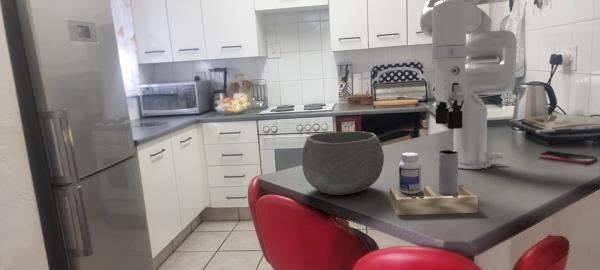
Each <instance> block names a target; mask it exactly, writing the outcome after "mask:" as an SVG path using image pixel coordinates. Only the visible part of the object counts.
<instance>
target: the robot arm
mask: <svg viewBox="0 0 600 270" xmlns="http://www.w3.org/2000/svg"><path fill="white" fill-rule="evenodd" d="M508 1H509V0H427V1H426V3H425V5H424V7H423V10H422V12H421V16H420V21H419V22H420V23H419V24H420V29H421V32H422V34H424V36H426V37H429V38H432V39H431V41H432V43H431V44H432V45H431V46H432V47H431V50H432V51H431V52H432V53H431V58H432V59H431V61H432V62H433V63H435V69H434V99H435V124H437V125H444V124H445V125H447V129H448V130H449V129H450V130H453V151H457V152H458V169H462V168H463V169H464V170H483V169H482V168H484V169H488V168H487V167H489V168H491V167H492V166H491V165H492V160H493V159H494V160H502V159H504V154H503V152H494V151H491V152H490V151H489V150H487V143H488V142H487V137H488V135H487V133H488V131H487V130H488V108H487V106H486V104H485V103H484V102H483V100H482V99H481V98H480V97H479V96H483V95H484V96H485V95H487V96H488V95H507V94H509V93H511V92H512V90H513V88H514V86H515V83H516V82H515V81H516V66H517V52H518V50H517V49H518V45H517V38H516V35H515V33H514V32H513V31H511V30H508V29H505V30H504V29H502V30H492V19H491V16H489V15H488V13H486V11H485V10H483V9H481V8H480V7H479V5H486V4H487V5H488V4H494V3H495V4H497V3H503V2H508ZM490 166H491V167H490ZM463 169H462V170H463Z"/></svg>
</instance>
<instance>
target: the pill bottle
mask: <svg viewBox="0 0 600 270" xmlns="http://www.w3.org/2000/svg"><path fill="white" fill-rule="evenodd" d="M418 160H419V154H418V153H417V152H403V153H401V161H400V162H399V164H398V177H399V182H398V185H399V191H400V192H401V193H403V194H409V195H410V194H418V193H420V192H421V191H422V165H421V162H420V161H418Z"/></svg>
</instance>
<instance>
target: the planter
mask: <svg viewBox="0 0 600 270" xmlns="http://www.w3.org/2000/svg"><path fill="white" fill-rule="evenodd" d="M458 185H459V168H458V152H457V151H454V149H448V150H447V149H445V150H440V151H438V192H439V193H440V194H443V195H446V196H452V195H458Z"/></svg>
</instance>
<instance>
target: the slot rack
mask: <svg viewBox="0 0 600 270" xmlns="http://www.w3.org/2000/svg"><path fill="white" fill-rule="evenodd" d="M478 201H479V197H478V195H476V194H475V193H473V192H472V191H471V190H470V189H469V188H467V187H466V186H465V185H464V184H458V193H457V194H452V195H440V196H438V195H437V194H436V193H435V192H434V191H433V190H432V188H431V187H429V186H428V185H426V186H425V185H424V186H423V195H418V196H415V195H413V196H410V197H405V196H404V197H401V196H400V195H399V193H398V191H397V190H396V188H395V187H389V202H390V204H391V206H392V209H393V211H394V212H395V214H396V215H397V216H407V215H408V216H410V215H442V214H444V215H445V214H449V215H450V214H474V213H475V214H478V205H479V203H478Z"/></svg>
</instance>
